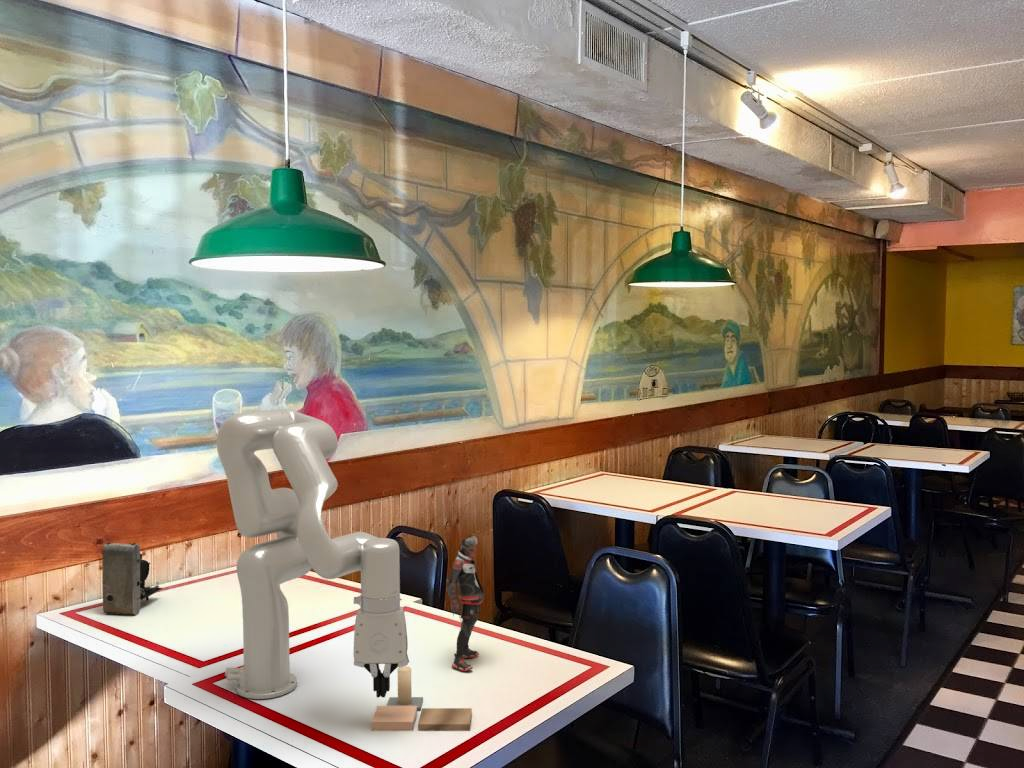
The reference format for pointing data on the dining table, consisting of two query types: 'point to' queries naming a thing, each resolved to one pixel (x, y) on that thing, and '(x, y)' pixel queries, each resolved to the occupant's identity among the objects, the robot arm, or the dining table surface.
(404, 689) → the float
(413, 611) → the dining table surface
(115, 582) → the vintage camera
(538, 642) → the dining table surface
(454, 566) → the action figure
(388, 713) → the tile
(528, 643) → the dining table surface
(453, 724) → the board
